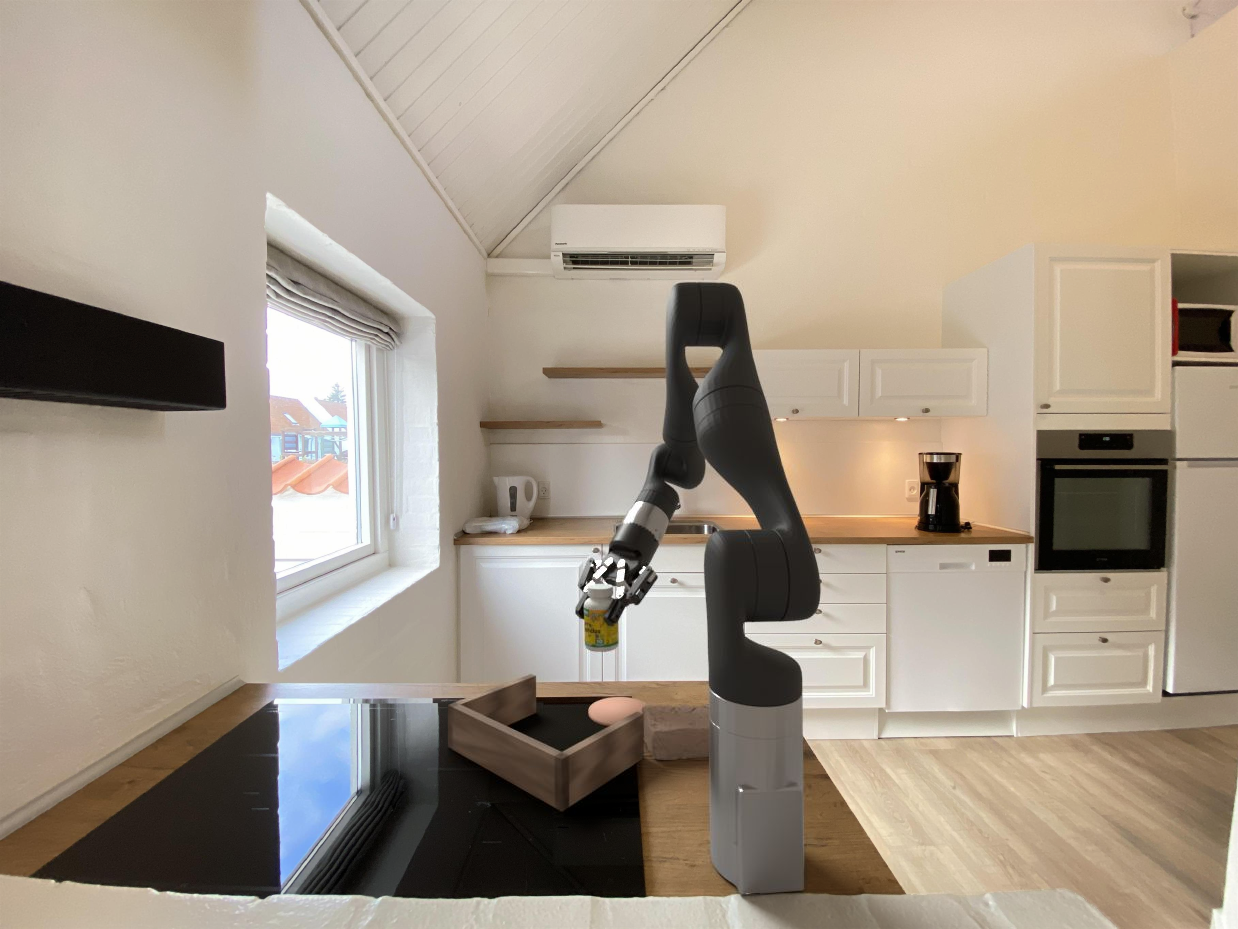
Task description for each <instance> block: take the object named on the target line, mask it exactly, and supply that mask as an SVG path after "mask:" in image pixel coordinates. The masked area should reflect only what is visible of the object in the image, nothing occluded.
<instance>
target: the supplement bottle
mask: <svg viewBox="0 0 1238 929" xmlns="http://www.w3.org/2000/svg"><path fill="white" fill-rule="evenodd" d="M588 596H590V598H588V599H587V600H586V601H585V603H584V620H583V622H584V624H583V626H584V627H583V629H584V647H585V649H587V650H588V651H590V652H594V653H606V652H611V651H614V650H616V649H617V648H618V647H619V641H620V640H619V639H620V638H619V621H618V622H617V623H615V625H614V626H613V627H612V626H608V625H607V624H606V622H605V621H604V616H605V614H606V612H607V610H608V608H609V606H610V604H611V602H612V601H613V599H615V598H614V597H612V596H614V586H612V585H609V584H593V585H589V586H588Z"/></svg>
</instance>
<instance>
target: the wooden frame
mask: <svg viewBox="0 0 1238 929" xmlns="http://www.w3.org/2000/svg"><path fill="white" fill-rule="evenodd" d="M536 713H537V675H536V674H532V673H530V674H527V675H525V676H522V677H519V678H517V679H514V680H511V681H508V682H506V683H503V684H501V685H498V686H495V687H493V688H490V689H486V690H485V691H482V692H479V693H477V694H473V695H471V696H468V697H465V698H463V699H460V700H457V701H454V702H453V703H450V704H449V703H448V705H447V747H448V748H449V749H451V750H452V751H454V752H456V753H458V754H460V755H461V756H463V757H464V758H467V759H468V760H470V761H472V762H474V763H476V764H477V765H479V766H481V767H482V768H484V769H486V770H488V771H490V772H492V774H494V775H496V776H498V777H500V778H501V779H504V780H506V781H507V782H509V783H511V784H513V785H515V786H516V787H518V788H519V789H521V790H523V791H525V792H527V793H528V794H529V795H531V796H534V797H535V798H537V799H538V800H541V801H542V802H544V803H545V804H548V805H549V806H551V807H553V808H554V809H557V810H558V811H560V812H563V811H565V810H566V809H568V808H570V807H571V806H573V805H575V804H576V803H577V802H579V801H580V800H582V799H584V798H585V797H587V796H588V795H590V794H591V793H593V792H595V791H596V790H597V789H599V788H601V787H602V786H603V785H605V784H606V783H608V782H609V781H611V780H613V779H614V778H616V777H617V776H619V775H620V774H621V773H623V772H624V771H626V770H628V769H630V768H631V767H632V766H634V765H635V764H636V763H639V762H640V761H642V760H643V759H644V758H645V740H644V714H643V713H640V712H635V713H633V714H631V715H629V716H627V717H626V718H624V719H622V720H620V721H618V722H616V723H614V724H613V725H611V726H606V727H605V728H604V729H601V730H600V731H598V732H596V733H594V734H592V735H591V736H588V737H587V738H584V740H582V741H580V742H577V743H576V744H574V745H572V746H570V747H568V748H567V749H565V750H563V751H560V750H559V749H556V748H554V747H552V746H549V745H548V744H546V743H543V742H542V741H539V740H537V739H535V738H533V737H531V736H529V735H527V734H524V733H522V732H519V731H518V730H515V729H513V728H511V727H509V725H511V724H515V723H516V722H518V721H521V720H523V719H525V718H527V717H530V716H533V715H534V714H536Z"/></svg>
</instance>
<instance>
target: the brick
mask: <svg viewBox="0 0 1238 929" xmlns="http://www.w3.org/2000/svg"><path fill="white" fill-rule="evenodd" d="M642 713H643V714H644V744H646V746H647V750H648V751H649V752H650V754H651V756H652V757H653V759H655V760H658V761H659V760H660V761H671V760H672V761H674V760H679V759H681V760H686V759H695V758H696V759H697V758H705V757H709V703H705V704H704V703H703V704H701V705H699V706H696V705H691V704H680V705H670V704H665V705H664V704H663V705H662V704H658V705H654V704H647V706H644V707H642Z"/></svg>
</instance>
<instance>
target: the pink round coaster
mask: <svg viewBox="0 0 1238 929" xmlns="http://www.w3.org/2000/svg"><path fill="white" fill-rule="evenodd" d="M647 705H648V703H646V702H644V701H642V700H641V699H637V698H633V697H628V696H627V697H625V696H616V697H614V696H613V697H606V698H602V699H600V700H597V701H595V702H593V703H592V704H591V705H590V706H589V708H588V717H589V718H590V720H591V721H593V722H594V723H596V724H598V725H601V726H605V727H609V726H611V725H613V724H614V723H616V722H618V721H620V720H622V719H624V718H626V717H627V716H629V715H631V714H633V713H635V712H640V713H642V707H644V706H647Z"/></svg>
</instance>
